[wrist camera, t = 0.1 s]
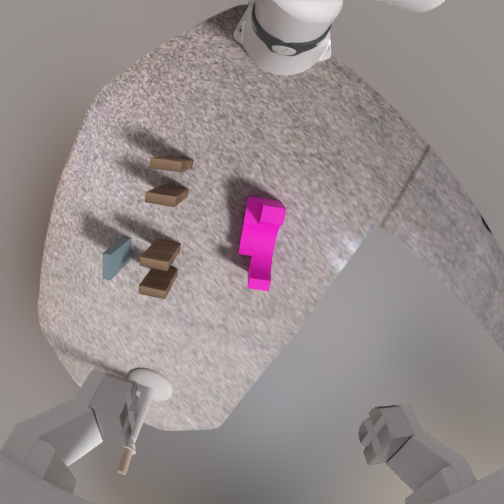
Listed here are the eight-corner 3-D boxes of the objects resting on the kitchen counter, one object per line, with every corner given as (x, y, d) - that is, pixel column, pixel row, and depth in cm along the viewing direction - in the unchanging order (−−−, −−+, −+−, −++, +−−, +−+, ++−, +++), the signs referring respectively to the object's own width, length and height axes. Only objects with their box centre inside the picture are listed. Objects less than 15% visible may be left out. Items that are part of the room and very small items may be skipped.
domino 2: (167, 156, 50) (150, 157, 41) (193, 159, 50) (181, 161, 41) (166, 164, 51) (149, 167, 41) (191, 168, 51) (179, 172, 42)
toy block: (248, 195, 53) (247, 202, 46) (281, 201, 54) (285, 209, 46) (235, 269, 58) (233, 286, 51) (266, 274, 58) (268, 291, 51)
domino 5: (154, 264, 57) (138, 285, 48) (177, 268, 58) (165, 291, 48) (154, 271, 58) (138, 293, 48) (177, 275, 58) (164, 299, 49)
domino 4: (156, 239, 55) (140, 256, 46) (180, 243, 56) (167, 262, 46) (156, 246, 56) (139, 265, 47) (179, 251, 56) (167, 271, 47)
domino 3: (163, 184, 52) (145, 192, 42) (188, 188, 52) (175, 197, 43) (162, 192, 52) (144, 202, 43) (187, 197, 53) (174, 206, 43)
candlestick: (121, 369, 67) (82, 455, 39) (162, 367, 67) (131, 464, 39) (140, 400, 72) (112, 482, 43) (179, 399, 71) (159, 489, 43)
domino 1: (123, 259, 57) (103, 278, 47) (124, 236, 55) (102, 253, 46) (129, 260, 57) (110, 280, 47) (131, 238, 55) (110, 254, 46)
